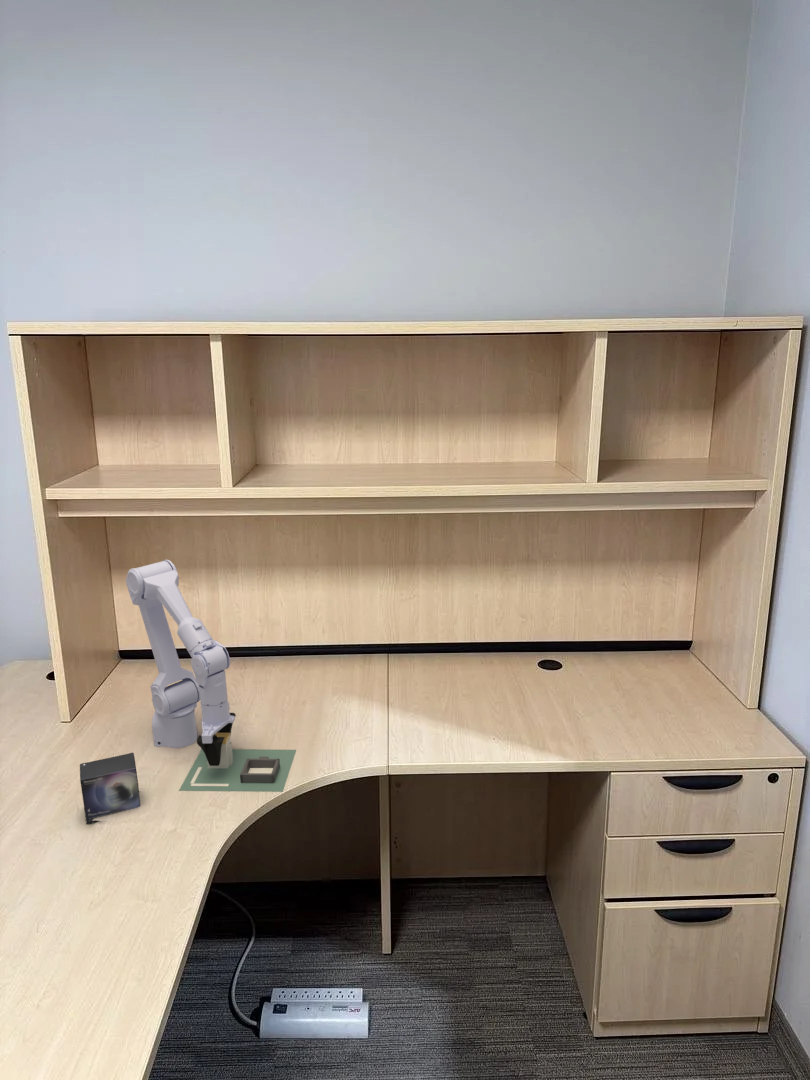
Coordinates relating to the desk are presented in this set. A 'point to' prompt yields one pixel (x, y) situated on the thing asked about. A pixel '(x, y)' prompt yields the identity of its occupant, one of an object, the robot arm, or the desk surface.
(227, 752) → the plug
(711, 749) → the desk surface
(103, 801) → the small box
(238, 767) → the board
